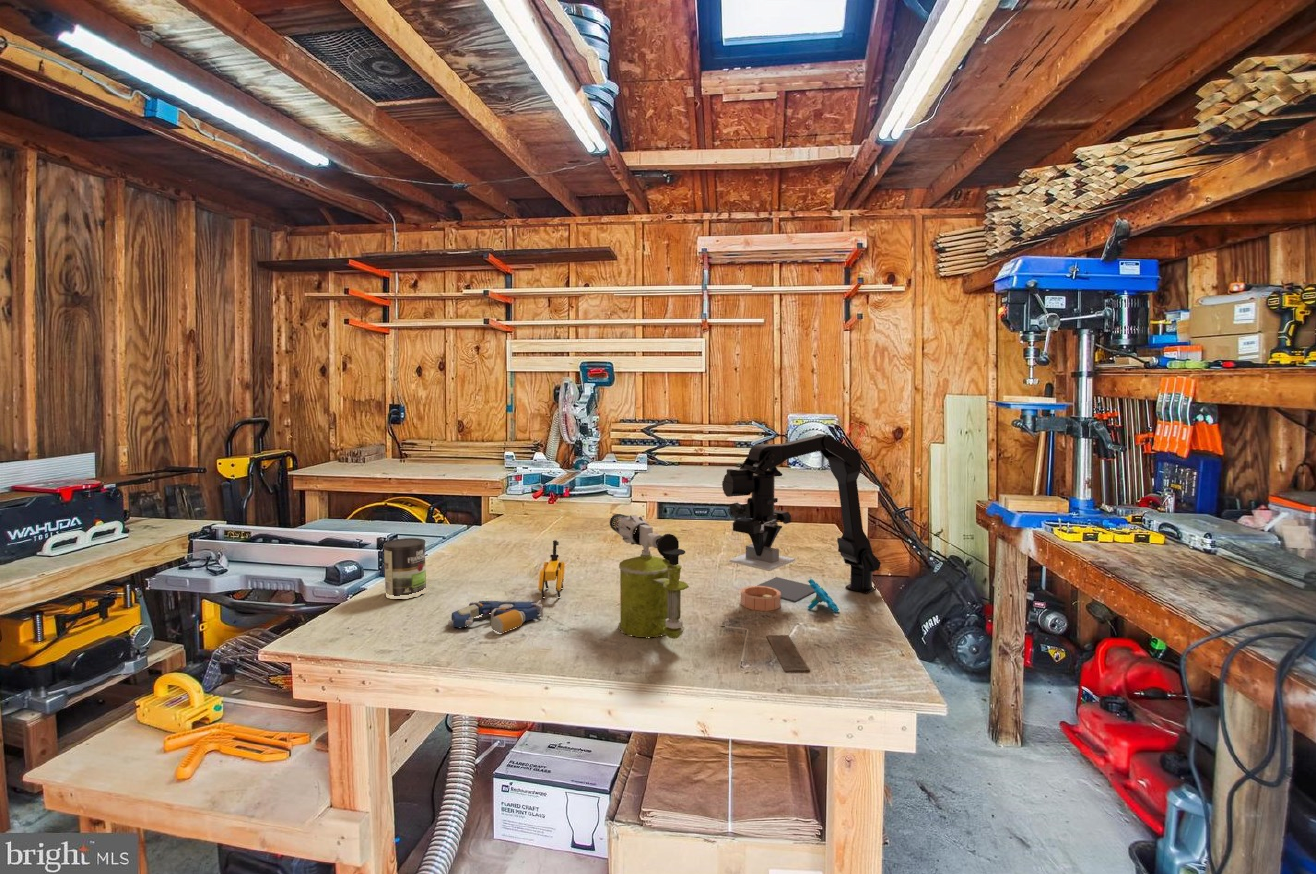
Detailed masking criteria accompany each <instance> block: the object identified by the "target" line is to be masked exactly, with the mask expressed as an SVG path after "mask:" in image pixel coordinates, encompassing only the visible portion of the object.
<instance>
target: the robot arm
mask: <svg viewBox="0 0 1316 874" xmlns="http://www.w3.org/2000/svg"><path fill="white" fill-rule="evenodd" d="M817 452H819V453H820V454H821V455H822V456H823V457H824V458H825V459H826V460H828V465H829V469H830V472H831V474H832V475H833V476H834V478H835V479H836V481H837V486H838V494H839V501H840V510H841V517H842V523H843V533H842V536H841V537H838V538H837V539H836V542H837V545H838V550H837V552H839V553H840V555H841V557H843V561H844V564H846V565H849V566H850V575H849V576H850V579H849V580H850V582H849V584H847V585H845V589H847V590H851V591H856V592H859V593H865V594H870V593H871V592H873V591H874V590H876V589H877V587H878V586H877V585H873V572H874V573H875V571H879V570H880V567H881V564H882V563H881V561H880V559H878V558H877V556H876V555H875V554H874V553H873V548H872V544H871V542H870V539H869V538H868V536H867V535H866V533H865V532H864V528H863V520H862V513H861V506H860V496H859V489H858V478H859V475H860V473H861V471H862V457H861V453H860V452H858V451H857V450H856V449H852V448H850V447H849V446H847V445H846V444H844V443H843V442H841V441H838V440H837V439H836V438H834V436H832V435H830V434H826V433H816V434H815V435H812V436H808V437H803V438H799V439H795V440H791V441H787V442H783V443H759V444H758V443H757V444H754V445H752V446H751V447H750V450H749V451H748V455H747V456H746V458H745V459H744V461H743V462H742V464H741V466H740V467H739V468H737V469H733V468H728V469H726V474H725V475H724V477H723V479H722V483H721V487H722V491H723V493H724V495H725V496H726V497H729V498H730V497H741V496H742V497H744V496H745V497H746V496H750V495H751V496H750V497H748V498H747V501H746V503H744V504H740V503H739V502H738V501H737V502H733V503H730V504H729V509H728V510H729V513H728V514H730V516H731V517H733V519H734V521H733V522H732V531H733V532H737V533H742V534H747V535H749V538H750V540H751V542H752V543H751V544H753V546H754V549H755V552H756V555H757V556H761V554H762V551H763V547H764V546H766V547H771V548H772V546H773V544H774V542H775V540H776V538H777V536H778V535H779V532H780V530H781V529H783V525H779V524H778V521H779V522H782V523H783V524H785V525H787V524H790V523H792V516H791V514H790V512H789V511H786V510H780V509H779V510H778V509H775V503H776V504H777V503H778V500H779V499H778V497H775V478H777V477H782V476H783V473H782V472H781V471H779V469H778V466H780V465H782V464H783V463H785V462H786V461H787V460H789V459H793V458H797V457H801V456H805V455H808V454H813V453H817ZM872 585H873V586H874V588H875V589H874V588H873V587H872Z"/></svg>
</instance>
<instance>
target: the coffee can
mask: <svg viewBox="0 0 1316 874" xmlns="http://www.w3.org/2000/svg"><path fill="white" fill-rule="evenodd" d="M383 550H384V551H383V555H384V556H383V557H384V583H385V584H384V586H385V590H384V591H386V593H387V594H389V595H394V596H400V595H409V594H412V593H416V592H419V591H421V590H423V589H424V588H426V589H427V580H426V579H427V576H426V573H427V572H426V571H427V570H426V540H425V539H423V538H418V537H417V538H416V537H407V538H404V537H403V538H399V539H393V540H392V539H391V540H387V542H385V543H383Z"/></svg>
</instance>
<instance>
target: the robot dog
mask: <svg viewBox="0 0 1316 874" xmlns="http://www.w3.org/2000/svg"><path fill="white" fill-rule="evenodd" d="M552 543H553V544H552V554H550V556H549V557H550V559H549V561H548V562H547V561H545V562H544V563H543V569H541V570H540V572H539V580H538V590H539V592H541V597H542V598H543V597H545V598H546V595H545V589H546V588H548V589H549V585H548V581H550V582H552V581H556V585H555V590H556V592H557V598H558V597H560V596H561V588H563V589H564V581H565V570H566V569H565V568H566V564H565V561H561V559H560V558H559V554H557V546H559V545H560V544H559V541H557V540H556V539H555V540H553V541H552ZM544 587H545V589H544Z"/></svg>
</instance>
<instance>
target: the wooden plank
mask: <svg viewBox="0 0 1316 874" xmlns="http://www.w3.org/2000/svg"><path fill="white" fill-rule="evenodd" d="M766 639H767V640H768V643H769V645H770V646H771V648H772V651H773V653H774V654H775V656H776V657H777V660H778V661H779V663H780V665H781V667H782V668H783V670H784V672H785V673H810V672H811V669H810V668H809V666H808V664H806V662H805V660H804V658H803V657H802V655H801V654H800V652H799V651H798V649H797V646H796V645H795V643H794V642H793V639H791V637H790V635H788V634H781V635H780V634H778V635H777V634H774V635H773V634H768V635H767V634H766Z"/></svg>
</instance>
